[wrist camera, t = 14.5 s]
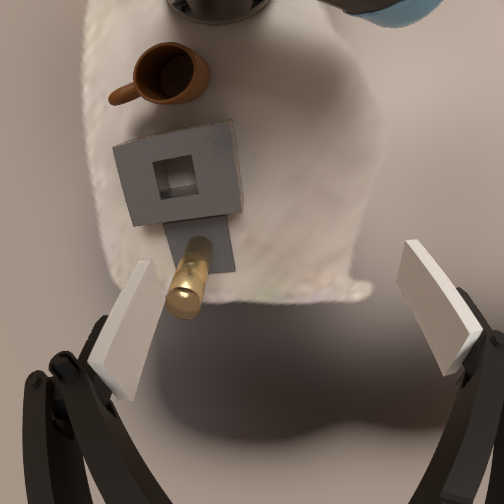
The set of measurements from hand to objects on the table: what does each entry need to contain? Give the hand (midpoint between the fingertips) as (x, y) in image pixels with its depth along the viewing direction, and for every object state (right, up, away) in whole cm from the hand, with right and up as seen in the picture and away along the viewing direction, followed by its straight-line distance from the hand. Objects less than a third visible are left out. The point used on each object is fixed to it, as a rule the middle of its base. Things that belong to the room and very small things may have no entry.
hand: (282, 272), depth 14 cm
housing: (-11, +13, +25) cm, 31 cm away
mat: (-10, +2, +32) cm, 33 cm away
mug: (-13, +24, +19) cm, 34 cm away
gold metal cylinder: (-10, +2, +31) cm, 33 cm away
